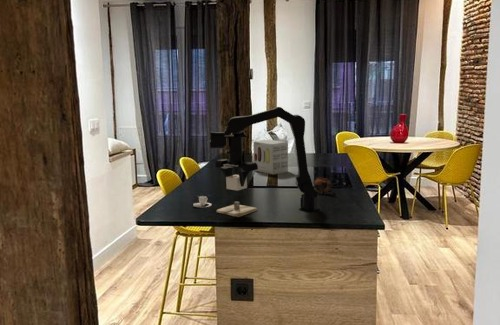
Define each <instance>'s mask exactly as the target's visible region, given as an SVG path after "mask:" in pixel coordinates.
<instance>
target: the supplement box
mask: <svg viewBox="0 0 500 325" xmlns="http://www.w3.org/2000/svg"><path fill="white" fill-rule="evenodd" d="M253 162H254V163H257V165H258V169H257V170H253V171H255V172H260V173H264V174H269V175H279V174H282V173H288V172H289V142H288V141H284V140H283V141H282V140H276V139H275V140H274V139H262V140H254V141H253Z"/></svg>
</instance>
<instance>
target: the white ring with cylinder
mask: <svg viewBox="0 0 500 325" xmlns="http://www.w3.org/2000/svg"><path fill="white" fill-rule="evenodd" d="M198 201H199V202H195V203H194V202H193V204H192V205H193V207H194V208H202V207H204V208H207V207H208V208H210V207H211V206H212V203H210V202H208V197H207V196H205V195H201V196H198ZM206 204H207V205H206Z"/></svg>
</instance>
